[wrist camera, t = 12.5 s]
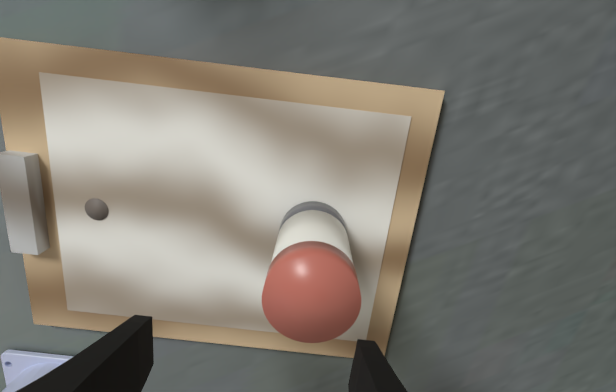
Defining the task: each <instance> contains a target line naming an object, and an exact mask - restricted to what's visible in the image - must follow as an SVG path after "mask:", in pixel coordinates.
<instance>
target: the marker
mask: <svg viewBox="0 0 616 392" xmlns="http://www.w3.org/2000/svg"><path fill="white" fill-rule="evenodd" d="M262 308H263V311H264V314H265V316H266V318H267V320H268V321H269V323H270V324H271V325H272V326H273V328H275V329H276V330H277V331H278V332H279V333H281V334H282V335H284V336H286V337H287V338H290V339H292V340H295V341H299V342H304V343H320V342H325V341H329V340H332V339H334V338H337V337H338V336H340V335H342V334H343V333H345V332H346V331H347V330H348V329H349V328H350V327H351V326H352V325H353V324H354V322H355V321H356V319H357V317H358V315H359V312H360V309H361V293H360V288H359V283H358V278H357V274H356V270H355V267H354V265H353V260H352V255H351V250H350V245H349V241H348V236H347V231H346V226H345V223H344V220H343V218H342V216H341V215H340V214H339V212H338V211H337V210H336V209H334V208H333V207H331V206H330V205H328V204H325V203H322V202H317V201H308V202H303V203H300V204H298V205H296V206H294V207H293V208H291V209H290V210H289V211H288V212H287V213H286V215H285V216H284V218H283V220H282V222H281V225H280V229H279V233H278V237H277V241H276V245H275V249H274V253H273V257H272V261H271V264H270V266H269V269H268V272H267V276H266V280H265V284H264V287H263V292H262Z"/></svg>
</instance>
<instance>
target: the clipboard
mask: <svg viewBox="0 0 616 392" xmlns="http://www.w3.org/2000/svg"><path fill="white" fill-rule="evenodd" d="M444 92H445V91H441V90H433V89H424V88H416V87H408V86H399V85H391V84H383V83H375V82H366V81H358V80H350V79H341V78H333V77H325V76H316V75H308V74H300V73H292V72H283V71H275V70H267V69H258V68H250V67H242V66H233V65H225V64H217V63H209V62H200V61H192V60H184V59H175V58H167V57H159V56H150V55H142V54H134V53H126V52H117V51H109V50H101V49H92V48H84V47H76V46H67V45H59V44H51V43H43V42H34V41H26V40H18V39H9V38H1V37H0V114H1V121H2V127H3V133H4V139H5V146H6V151H5V152H0V190H1V196H2V202H3V208H4V213H5V219H6V225H7V231H8V237H9V243H10V249H11V252H14V253H23V259H24V265H25V271H26V277H27V284H28V290H29V296H30V303H31V309H32V315H33V321H34V324H40V325H49V326H58V327H68V328H77V329H86V330H96V331H105V332H111V331H112V330H113V329H115V328H116V327H118V326H119V325H120V324H122V323H123V322H125V321H126V320H128V319H129V318H131V317H132V316H134V315H142V316H152V325H153V337H161V338H171V339H180V340H190V341H199V342H208V343H218V344H227V345H236V346H246V347H255V348H264V349H274V350H283V351H293V352H302V353H311V354H321V355H330V356H339V357H349V358H354V354H355V349H356V344H357V339H362V340H371V341H375V342H376V343H377V345H378V346H379V348H380V350H381V352H382V353H383V355H384V356H385V352H386V347H387V343H388V339H389V334H390V330H391V325H392V321H393V317H394V312H395V308H396V303H397V299H398V295H399V290H400V286H401V281H402V277H403V273H404V268H405V264H406V259H407V255H408V251H409V246H410V242H411V237H412V233H413V229H414V224H415V220H416V215H417V211H418V207H419V202H420V198H421V193H422V189H423V185H424V180H425V176H426V171H427V167H428V163H429V158H430V154H431V149H432V145H433V141H434V136H435V132H436V127H437V123H438V119H439V114H440V110H441V105H442V101H443V97H444ZM308 201H317V202H322V203H325V204H328V205H330V206H331V207H333V208H334V209H336V210H337V211H338V212H339V214H340V215H341V216H342V218H343V220H344V223H345V226H346V231H347V236H348V241H349V245H350V250H351V255H352V260H353V265H354V267H355V270H356V274H357V278H358V283H359V288H360V293H361V309H360V312H359V315H358V317H357V319H356V321H355V322H354V324H353V325H352V326H351V327H350V328H349V329H348V330H347V331H346V332H345V333H343V334H342V335H340V336H338V337H337V338H334V339H332V340H329V341H325V342H320V343H304V342H299V341H295V340H292V339H290V338H287V337H286V336H284V335H282V334H281V333H279V332H278V331H277V330H276V329H275V328H273V326H272V325H271V324H270V323H269V321H268V320H267V318H266V316H265V314H264V311H263V308H262V292H263V287H264V284H265V280H266V276H267V272H268V269H269V266H270V264H271V261H272V257H273V253H274V249H275V245H276V241H277V237H278V233H279V229H280V225H281V222H282V220H283V218H284V216H285V215H286V213H287V212H288V211H289V210H290V209H291V208H293V207H294V206H296V205H298V204H300V203H303V202H308Z"/></svg>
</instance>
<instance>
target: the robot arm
mask: <svg viewBox="0 0 616 392" xmlns="http://www.w3.org/2000/svg"><path fill="white" fill-rule="evenodd" d="M1 361H2V366H3V370H4V375H5V380H6V385H7V387H6V388H5V389H4V390H3V391H2V392H141V391H142V389H143V386H144V384H145V382H146V380H147V378H148V375H149V373H150V371H151V368H152V366H153V325H152V316H142V315H134V316H132V317H131V318H129V319H128V320H126V321H125V322H123V323H122V324H120V325H119V326H118V327H116V328H115V329H113V330H112V331H111V332H109V333H108V334H106V335H105V336H103V337H102V338H101V339H99V340H98V341H96V342H95V343H93V344H92V345H90V346H89V347H87V348H86V349H84V350H83V351H82V352H80V353H79V354H77V355H75V356H66V355H57V354H47V353H38V352H28V351H19V350H6V351H5V352H4V353H3V354H2V355H1ZM348 385H349V392H407V391H406V389H405V388H404V386H403V385H402V383H401V382H400V380H399V379H398V377H397V376H396V374H395V373H394V371H393V369H392V368H391V366H390V365H389V363H388V361H387V360H386V358H385V357H384V355H383V353H382V352H381V350H380V348H379V346H378V345H377V343H376V342H375V341H371V340H362V339H357V344H356V349H355V354H354V359H353V364H352V369H351V374H350V379H349V384H348Z"/></svg>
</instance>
